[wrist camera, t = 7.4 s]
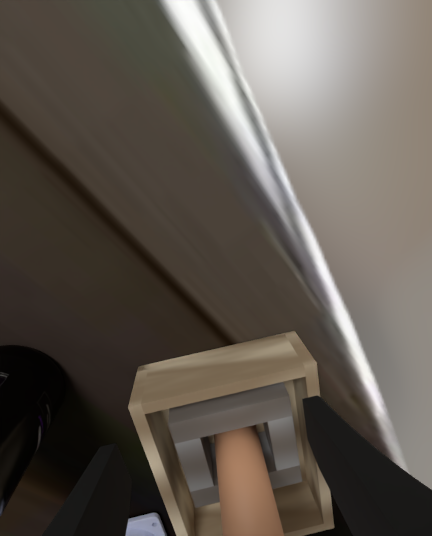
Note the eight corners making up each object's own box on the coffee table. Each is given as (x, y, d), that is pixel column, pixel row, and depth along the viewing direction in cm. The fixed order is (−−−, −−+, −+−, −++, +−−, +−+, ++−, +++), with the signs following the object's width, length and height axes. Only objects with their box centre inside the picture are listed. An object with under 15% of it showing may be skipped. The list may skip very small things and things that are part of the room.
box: (313, 478, 27) (334, 527, 23) (187, 509, 27) (187, 564, 23) (294, 330, 22) (316, 363, 18) (138, 366, 22) (127, 407, 18)
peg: (255, 424, 24) (292, 567, 15) (217, 434, 24) (232, 582, 15) (248, 394, 23) (283, 529, 14) (208, 404, 23) (218, 545, 14)
